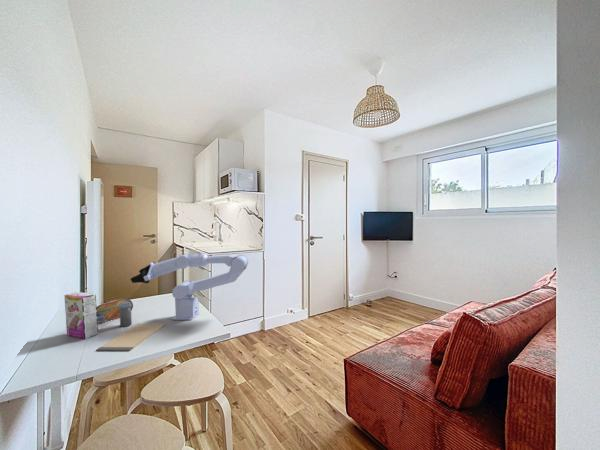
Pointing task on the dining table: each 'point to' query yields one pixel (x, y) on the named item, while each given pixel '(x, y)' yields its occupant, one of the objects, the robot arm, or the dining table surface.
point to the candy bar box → (81, 315)
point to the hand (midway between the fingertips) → (136, 276)
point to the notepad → (131, 338)
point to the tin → (110, 310)
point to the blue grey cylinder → (125, 314)
